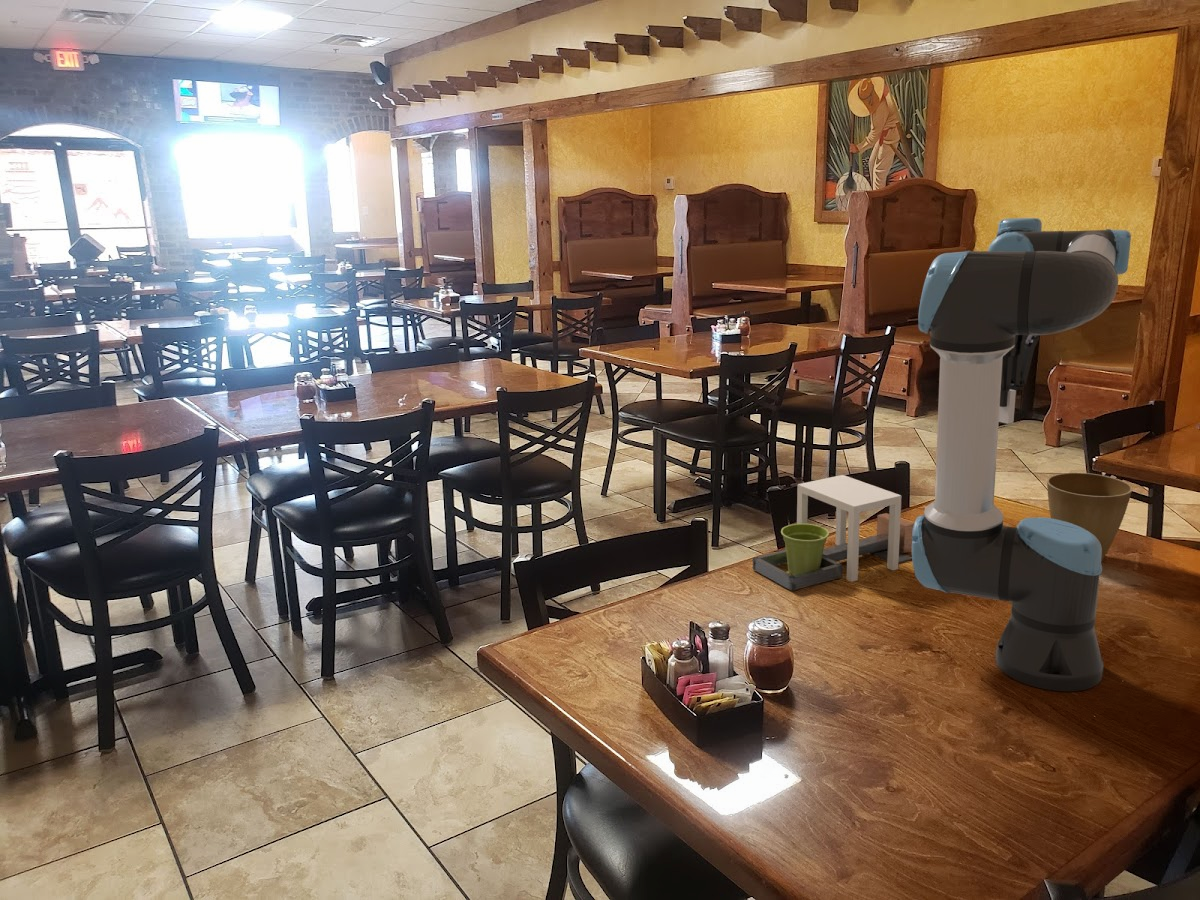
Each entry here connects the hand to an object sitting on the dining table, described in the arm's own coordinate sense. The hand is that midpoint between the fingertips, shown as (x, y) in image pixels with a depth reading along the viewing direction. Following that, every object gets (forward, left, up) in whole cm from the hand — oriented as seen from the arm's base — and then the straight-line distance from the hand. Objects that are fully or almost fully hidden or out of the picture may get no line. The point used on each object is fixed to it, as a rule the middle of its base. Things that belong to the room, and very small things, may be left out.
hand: (1005, 421), depth 180 cm
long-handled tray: (+14, +29, -28) cm, 43 cm away
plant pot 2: (-10, -13, -29) cm, 33 cm away
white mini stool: (+14, +24, -28) cm, 40 cm away
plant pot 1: (+14, +38, -29) cm, 49 cm away
